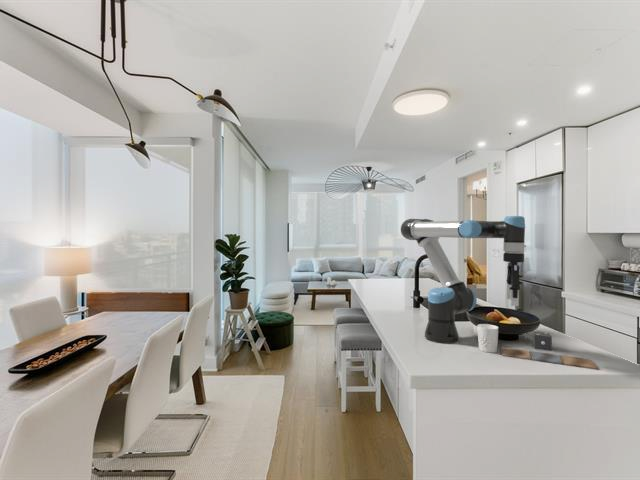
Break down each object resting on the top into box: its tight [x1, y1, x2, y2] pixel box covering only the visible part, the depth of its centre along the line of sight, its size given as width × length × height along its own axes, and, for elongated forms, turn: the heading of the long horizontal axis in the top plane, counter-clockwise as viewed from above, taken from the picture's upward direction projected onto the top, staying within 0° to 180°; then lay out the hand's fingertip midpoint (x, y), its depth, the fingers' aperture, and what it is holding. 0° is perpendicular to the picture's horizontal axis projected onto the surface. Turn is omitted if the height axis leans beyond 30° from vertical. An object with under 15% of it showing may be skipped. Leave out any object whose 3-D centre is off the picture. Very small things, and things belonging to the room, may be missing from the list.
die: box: [532, 330, 553, 352], centre depth 136 cm, size 6×6×6 cm
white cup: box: [476, 323, 499, 354], centre depth 134 cm, size 8×8×10 cm
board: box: [501, 346, 600, 371], centre depth 124 cm, size 30×10×1 cm, turn 62°
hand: (512, 302), depth 135 cm, fingers open, 13 cm apart
